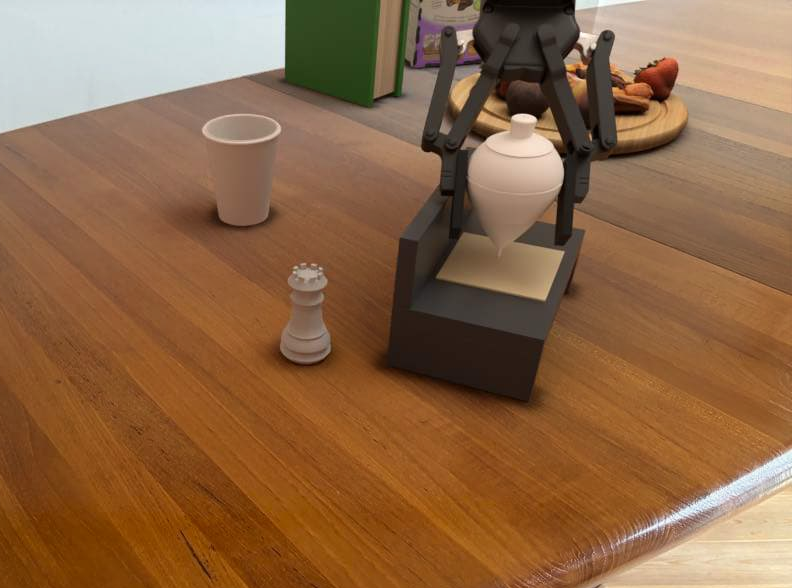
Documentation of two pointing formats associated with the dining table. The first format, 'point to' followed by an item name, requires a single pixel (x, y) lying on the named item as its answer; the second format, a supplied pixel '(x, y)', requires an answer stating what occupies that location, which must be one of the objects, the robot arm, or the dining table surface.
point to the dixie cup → (242, 165)
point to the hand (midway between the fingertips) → (508, 236)
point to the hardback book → (347, 47)
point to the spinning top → (513, 180)
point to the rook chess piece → (306, 318)
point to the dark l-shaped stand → (476, 300)
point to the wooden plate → (633, 102)
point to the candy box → (438, 29)
